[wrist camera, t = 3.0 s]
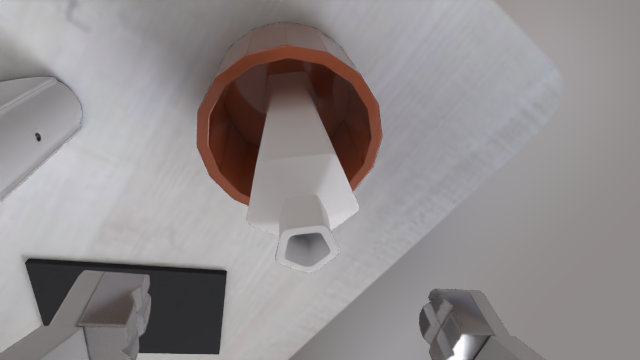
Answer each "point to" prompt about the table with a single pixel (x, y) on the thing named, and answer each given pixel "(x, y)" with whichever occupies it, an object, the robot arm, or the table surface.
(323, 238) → the white pentagonal vase
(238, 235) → the table surface
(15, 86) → the photo printer
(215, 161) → the desk pot
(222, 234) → the table surface
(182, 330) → the mat
